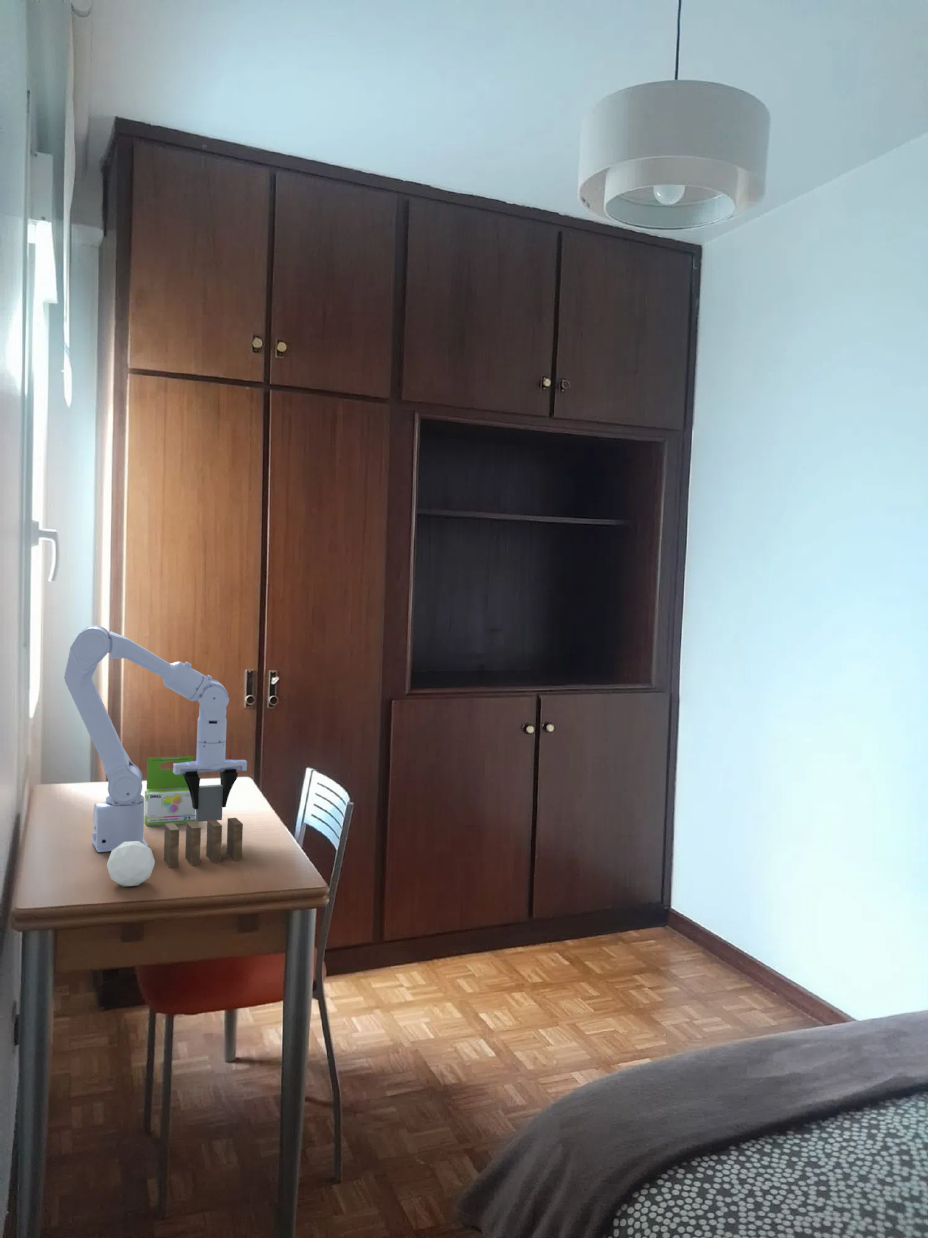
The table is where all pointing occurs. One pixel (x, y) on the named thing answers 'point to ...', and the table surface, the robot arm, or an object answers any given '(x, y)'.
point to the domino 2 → (193, 842)
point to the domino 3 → (209, 803)
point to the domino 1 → (171, 845)
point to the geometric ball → (130, 863)
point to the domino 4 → (214, 841)
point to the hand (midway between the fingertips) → (209, 807)
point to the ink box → (167, 794)
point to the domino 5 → (234, 839)
